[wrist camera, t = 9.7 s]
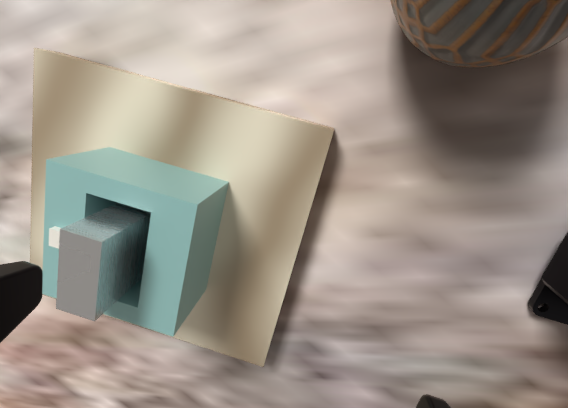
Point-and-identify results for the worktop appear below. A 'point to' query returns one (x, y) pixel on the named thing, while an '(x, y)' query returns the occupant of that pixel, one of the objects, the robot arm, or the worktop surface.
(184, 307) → the teal open cube
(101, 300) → the grey rectangular peg
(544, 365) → the worktop surface
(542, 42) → the vase
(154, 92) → the board
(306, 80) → the worktop surface
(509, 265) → the worktop surface
